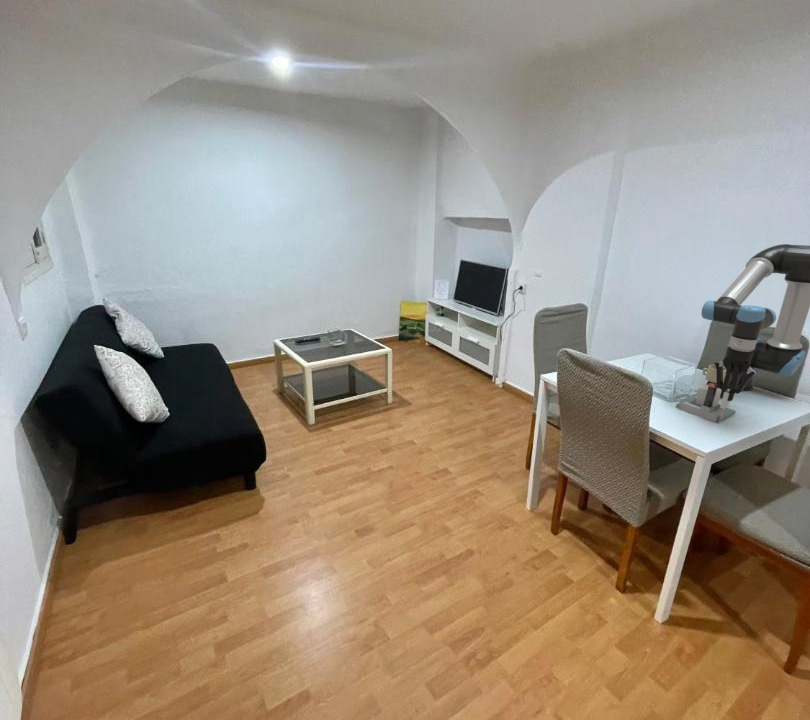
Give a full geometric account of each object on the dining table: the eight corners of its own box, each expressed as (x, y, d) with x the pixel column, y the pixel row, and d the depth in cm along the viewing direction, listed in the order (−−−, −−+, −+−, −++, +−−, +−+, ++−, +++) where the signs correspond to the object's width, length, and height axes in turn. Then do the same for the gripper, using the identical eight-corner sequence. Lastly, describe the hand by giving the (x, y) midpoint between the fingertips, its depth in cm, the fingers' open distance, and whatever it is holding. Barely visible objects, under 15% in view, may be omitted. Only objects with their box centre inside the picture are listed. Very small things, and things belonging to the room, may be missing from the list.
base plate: (692, 399, 185) (694, 390, 184) (734, 414, 173) (737, 404, 171) (675, 407, 177) (677, 397, 176) (718, 423, 165) (721, 413, 163)
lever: (703, 407, 171) (710, 382, 167) (712, 410, 168) (720, 385, 165) (700, 409, 169) (707, 384, 165) (709, 412, 167) (716, 387, 163)
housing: (702, 399, 181) (707, 380, 178) (718, 405, 176) (723, 385, 173) (695, 403, 178) (700, 383, 175) (711, 408, 173) (716, 388, 170)
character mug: (728, 397, 188) (736, 369, 184) (721, 401, 184) (730, 372, 180) (700, 388, 196) (708, 362, 192) (694, 392, 193) (701, 365, 188)
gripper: (716, 345, 159) (700, 403, 167) (758, 355, 149) (739, 416, 157) (724, 342, 163) (709, 399, 171) (766, 351, 153) (747, 411, 161)
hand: (723, 407), depth 164 cm, fingers closed
